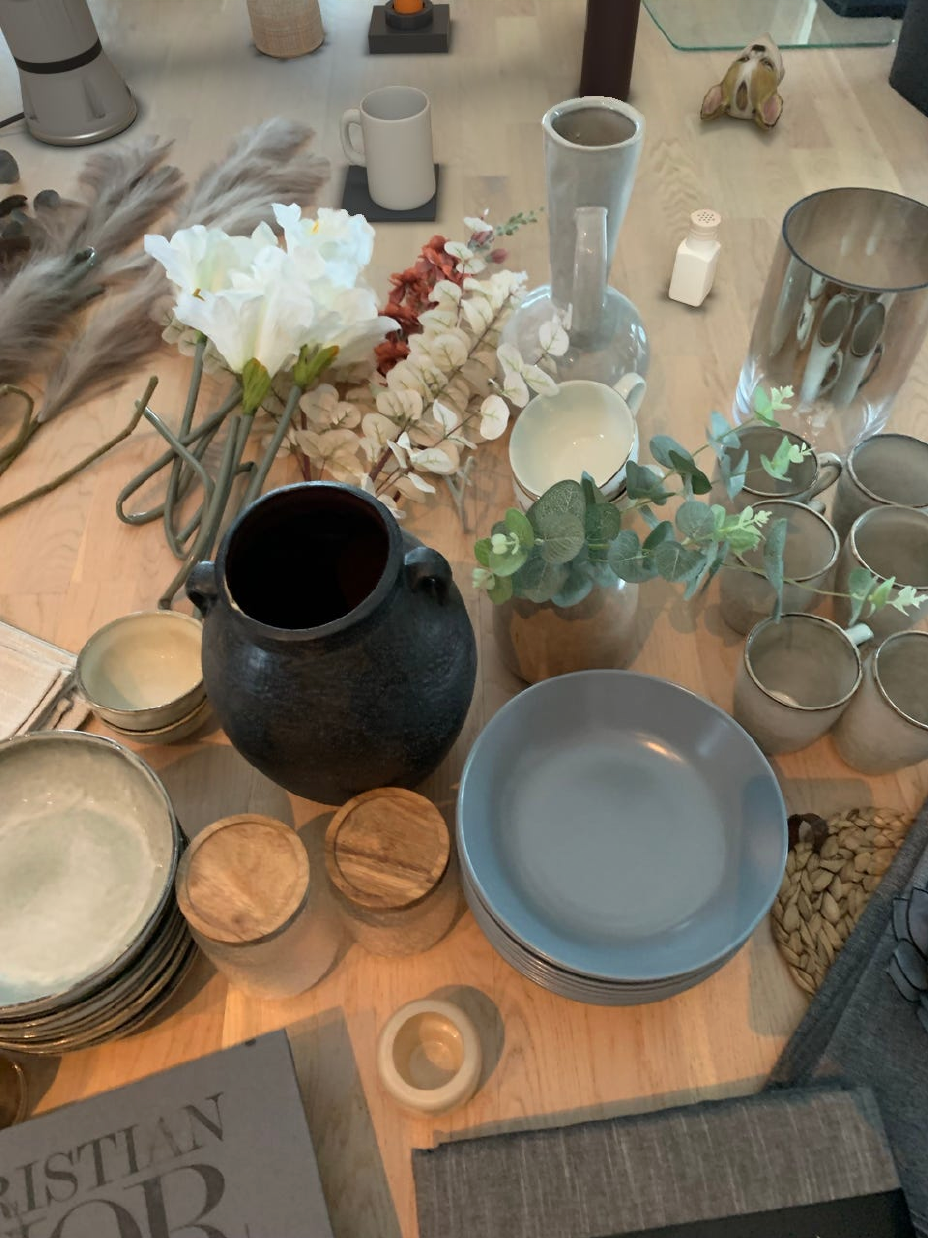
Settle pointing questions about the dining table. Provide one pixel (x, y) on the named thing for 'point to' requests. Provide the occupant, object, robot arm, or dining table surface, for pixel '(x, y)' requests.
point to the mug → (394, 146)
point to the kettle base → (409, 29)
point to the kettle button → (408, 6)
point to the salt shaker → (696, 259)
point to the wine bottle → (609, 47)
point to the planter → (286, 26)
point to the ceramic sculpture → (749, 86)
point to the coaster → (362, 203)
